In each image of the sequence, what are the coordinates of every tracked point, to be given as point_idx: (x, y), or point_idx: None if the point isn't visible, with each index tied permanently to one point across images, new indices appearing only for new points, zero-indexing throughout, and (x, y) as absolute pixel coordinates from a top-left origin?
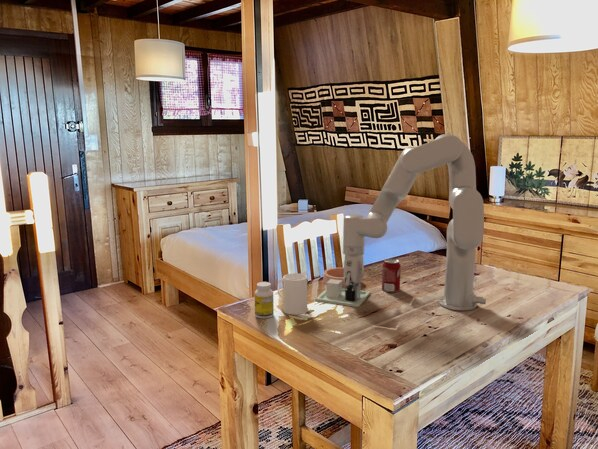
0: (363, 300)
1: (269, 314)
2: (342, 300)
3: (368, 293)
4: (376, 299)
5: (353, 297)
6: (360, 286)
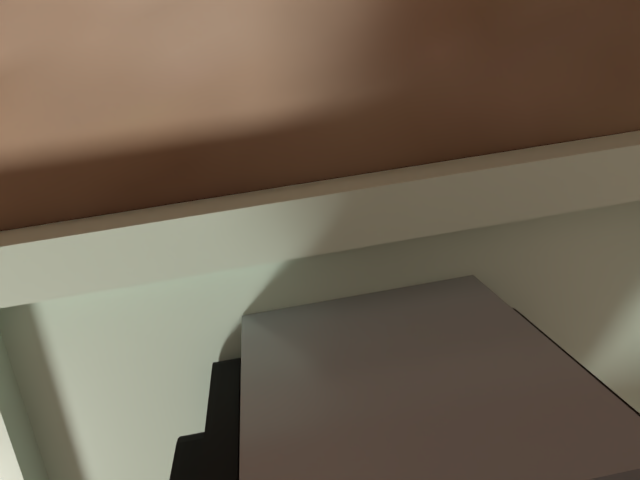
0: (427, 172)
1: None
2: None
3: (28, 243)
4: (86, 11)
5: None
6: (264, 458)
